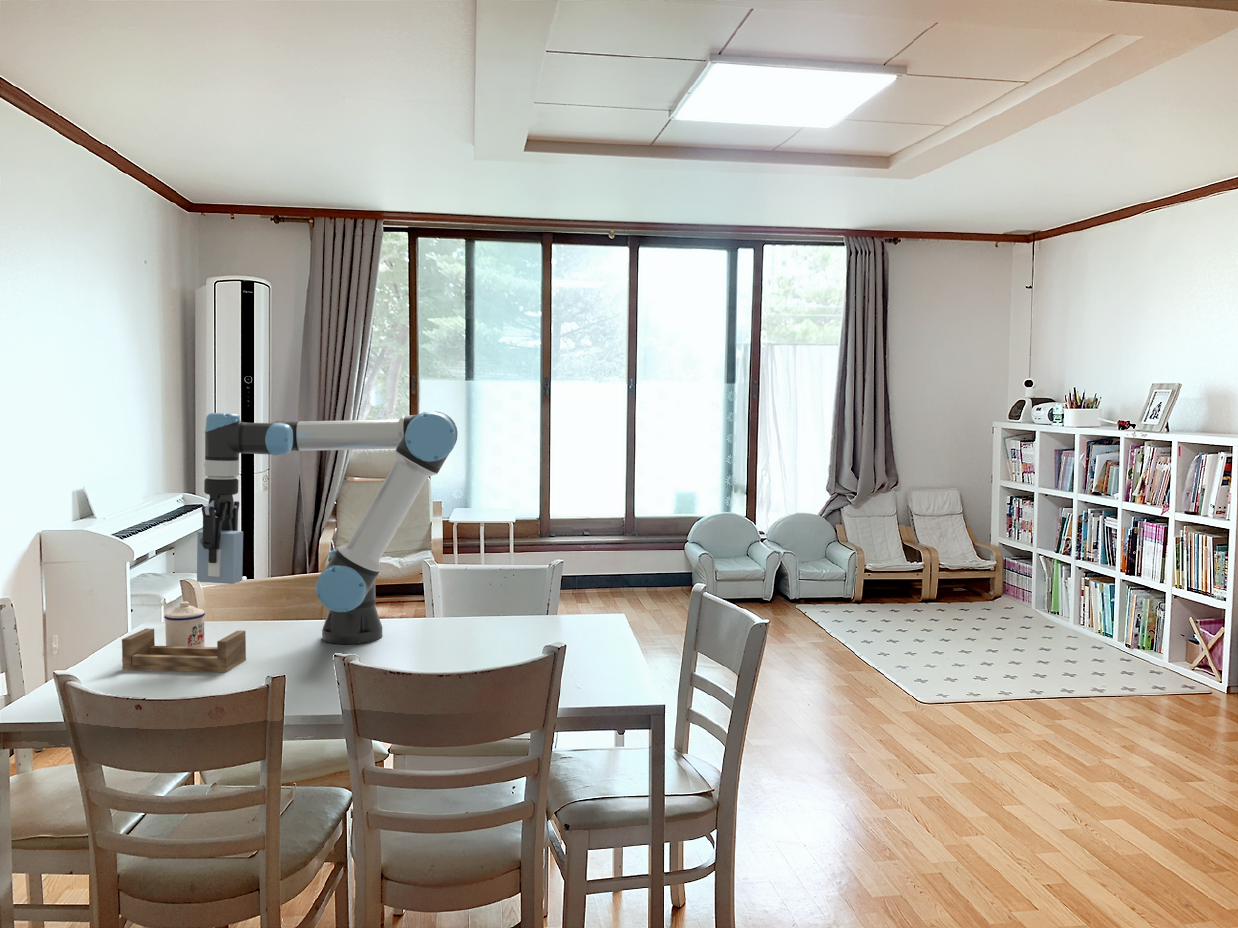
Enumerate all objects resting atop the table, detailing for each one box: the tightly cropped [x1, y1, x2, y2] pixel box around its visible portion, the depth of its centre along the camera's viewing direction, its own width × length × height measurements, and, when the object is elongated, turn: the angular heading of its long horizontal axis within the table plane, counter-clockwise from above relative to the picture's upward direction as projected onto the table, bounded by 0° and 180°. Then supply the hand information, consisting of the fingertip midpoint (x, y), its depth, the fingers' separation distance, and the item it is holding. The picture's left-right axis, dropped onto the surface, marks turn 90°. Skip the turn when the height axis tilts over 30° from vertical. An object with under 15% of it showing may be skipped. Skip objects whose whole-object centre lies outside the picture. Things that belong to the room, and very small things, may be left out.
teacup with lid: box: [163, 601, 206, 647], centre depth 231 cm, size 12×9×12 cm
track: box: [121, 628, 247, 673], centre depth 216 cm, size 24×10×7 cm, turn 88°
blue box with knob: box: [196, 530, 244, 585], centre depth 224 cm, size 9×6×12 cm, turn 85°
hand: (219, 573), depth 225 cm, fingers closed on blue box with knob, 4 cm apart
